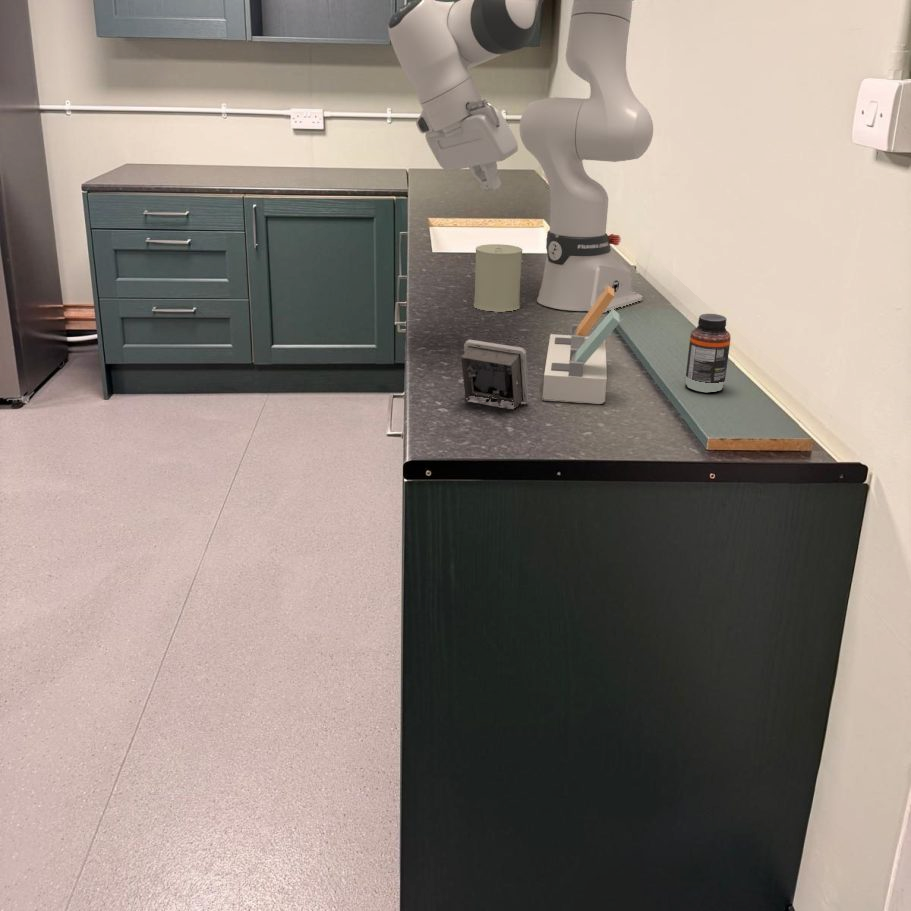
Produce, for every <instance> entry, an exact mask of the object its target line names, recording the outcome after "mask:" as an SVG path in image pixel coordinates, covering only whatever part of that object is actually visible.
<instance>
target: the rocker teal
mask: <svg viewBox="0 0 911 911" xmlns="http://www.w3.org/2000/svg"><path fill="white" fill-rule="evenodd" d="M620 323H621V320H620V313H618V312H617V311H616V309H615V310H614V309H612V310H611V311H609V313H607V315H606V316H605V317H604V318H603V320H601V322H600V323H599V324H598V325H597V326H596V328H594V330H593V331H592V333H591V334H590V335H589V336H588V338H587V340H586V341H585V342H584V343H583V344H582V346H581V347H580V348H579V349H578V350H577V351H576V353H574V354H573V355H572V361H575V362H583V365H584V364H585V363H586V361H587V360H588V359H589V358H590V357H591V356H592V354H593V353H594V352H595V351H596V350H597V349H598V347H599V346H600V345H601V344H602V343H603V342H604V340H605V341H606V339H607V338H608V337H609V336H610V335H611V333H612V332H613V331H615V329H616V328H617V327H618V325H620Z"/></svg>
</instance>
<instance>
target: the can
mask: <svg viewBox="0 0 911 911" xmlns="http://www.w3.org/2000/svg"><path fill="white" fill-rule="evenodd" d="M522 256H523V248H522V247H519V246H516V245H510V244H500V243H499V244H497V243H496V244H495V243H494V244H490V243H489V244H483V245H482V244H481V245H478V246H476V248H475V276H474V277H475V279H474V280H475V281H474V299H473V300H474V301H473V308H475V309H476V308H477V309H476V310H478V309H480V310H479V311H481V310H485V311H484V312H486V311H494V312H493V313H497V312H503V313H506V312H505V311H512V312H514V311H513V310H516V311H518V310H519V309H520V308H521V305H520V293H521V292H520V291H521V273H522V272H521V271H522ZM517 309H518V310H517Z"/></svg>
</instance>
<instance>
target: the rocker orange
mask: <svg viewBox="0 0 911 911" xmlns="http://www.w3.org/2000/svg"><path fill="white" fill-rule="evenodd" d="M614 297H615V296H614V289H613V288H611V287H610V286H607V287H606V288H605V290H604V291H603V292H602V294H601V295H600V297H599V298H598V299H597V301H596V302H595V303H594V305H593V306H592V308H591V309H590V310H589V311H587V313H586V314H585V316H584V317H583V319H582V320H581V322H579V324H578V325H579V326H578V327H577V328H576V329H575V330H574V335H579V336H584V338H585V336H587V335H588V334H589V332H590V331H591V330H592V328H593V327H594V325H596V323H597V321H598V320H599V318H600V317H601V316H602V314H604V313H605V312H604V310H605V309H606V308H607V306H608V305H609V304H610V302H611V301H612V299H613V298H614ZM603 312H604V313H603Z"/></svg>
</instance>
